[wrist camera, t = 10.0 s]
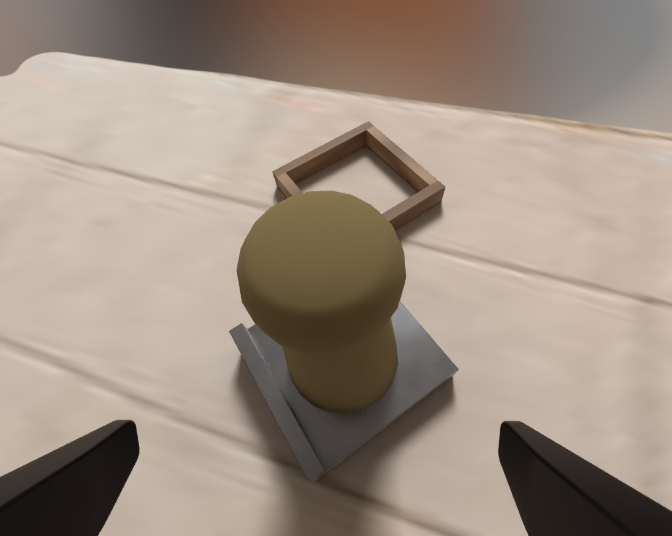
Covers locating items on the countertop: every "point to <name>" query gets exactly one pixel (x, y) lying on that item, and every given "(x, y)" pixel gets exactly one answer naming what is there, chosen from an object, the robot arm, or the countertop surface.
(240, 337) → the gray hardcover book
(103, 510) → the robot arm
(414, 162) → the socket collar
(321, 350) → the cork
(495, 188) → the countertop surface
